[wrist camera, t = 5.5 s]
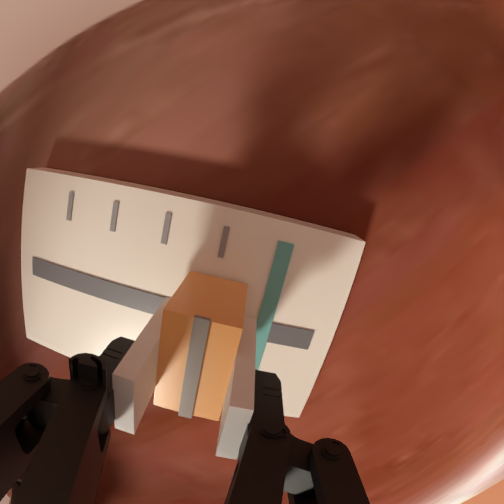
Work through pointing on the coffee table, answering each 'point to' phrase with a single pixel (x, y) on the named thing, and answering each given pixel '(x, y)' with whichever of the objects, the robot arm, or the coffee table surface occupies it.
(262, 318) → the fader console
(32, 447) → the robot arm
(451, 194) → the coffee table surface
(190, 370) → the fader tab
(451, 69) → the coffee table surface
